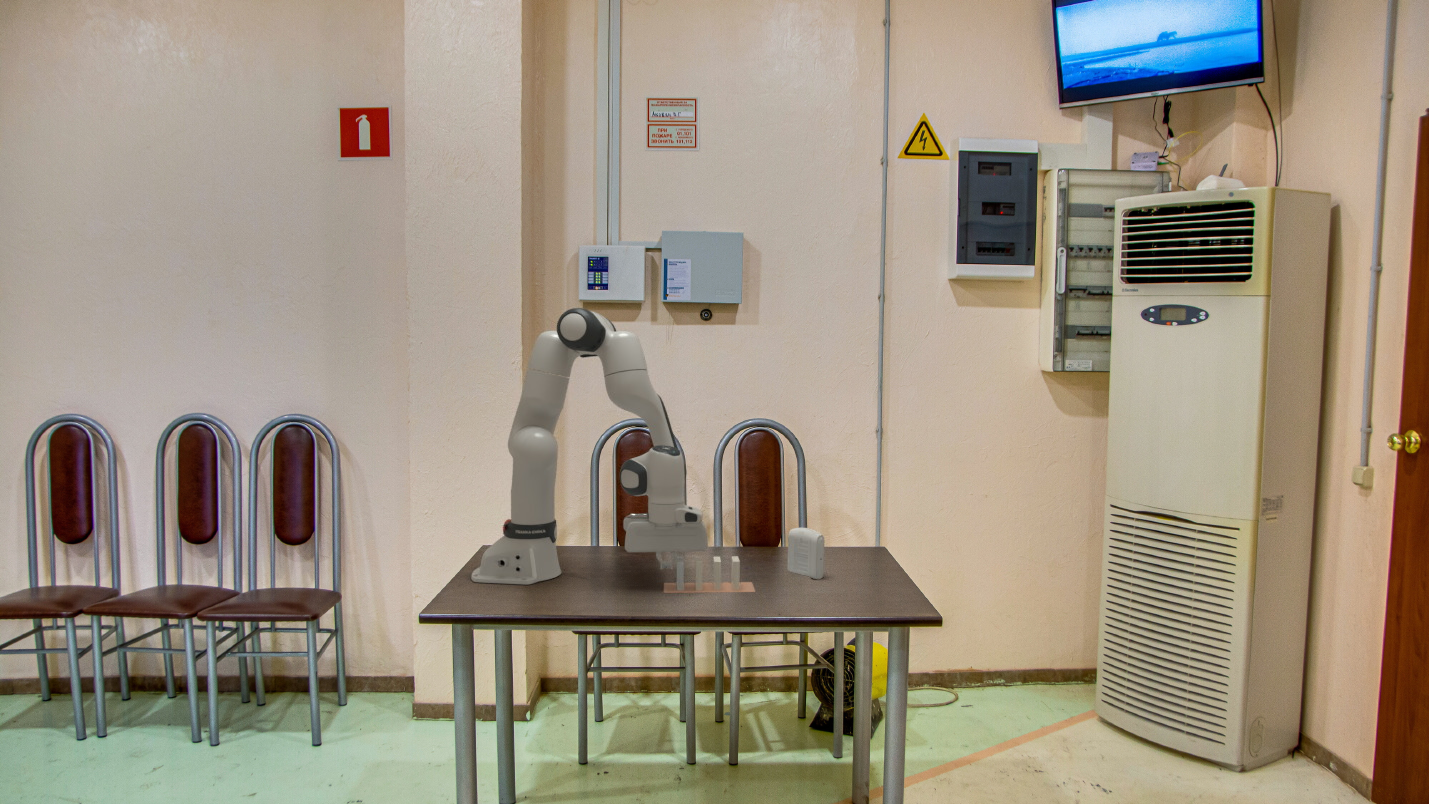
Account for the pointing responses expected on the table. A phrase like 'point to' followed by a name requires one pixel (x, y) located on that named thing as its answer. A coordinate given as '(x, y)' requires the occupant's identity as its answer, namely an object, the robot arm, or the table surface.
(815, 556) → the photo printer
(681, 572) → the domino
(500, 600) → the table surface
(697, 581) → the domino
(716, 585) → the domino
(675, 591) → the strip
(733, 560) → the domino
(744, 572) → the table surface
